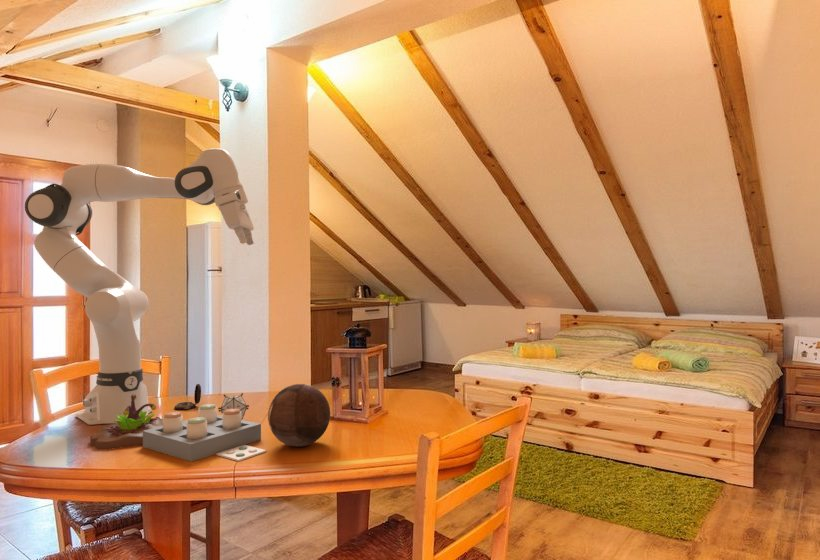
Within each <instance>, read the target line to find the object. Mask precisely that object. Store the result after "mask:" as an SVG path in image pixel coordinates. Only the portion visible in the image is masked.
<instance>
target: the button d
mask: <svg viewBox="0 0 820 560" xmlns="http://www.w3.org/2000/svg"><path fill="white" fill-rule="evenodd" d="M223 412H224V413H221V415H222V426H223V429H227V430H232V429H236V428H239V427H242V422H241V411H240V409H227V410H224V411H223Z"/></svg>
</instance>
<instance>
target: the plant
mask: <svg viewBox="0 0 820 560" xmlns="http://www.w3.org/2000/svg"><path fill="white" fill-rule="evenodd" d="M136 398H137V396H136V395H135V394H132V395H131V400H132V401H131V406H128V407H127V408H126V409H125V410H124V412H123V414H124V415H125V416H123V415H118V414H117V418H118V419H119V420H120V421H117V420H114V421H116V422H117V423H108V424H106V425H103V426H101V427H100V428H99V427H98V429H97V431H96V432H95V433H94V434H91V435H89V437H90V438H89V439H90V441H89V442H90V443H89V444H90V447H95V449H96V450H113V449H112V448H115V449H120V447H122V448H128V447H127V446H129V447H136V446H135V445H138V446H143V431H144V430H148V429H152V428H156V427H160V426H163V418H160V417H159V416H156V417H154V415H156V413H151V414H148V415H146V414H147V412H143V411H141V410H142V409H143V408H144V407H146V406H149V407H150V408H151V409H152V411H155V410H156V409H157V405H156V404H154V403H149V402H148V404H145V405H143V406H142V407H140V408H139V409H138V410H137V411H136V408H135V402H134V401H135V399H136ZM126 415H127V416H126Z"/></svg>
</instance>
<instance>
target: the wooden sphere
mask: <svg viewBox="0 0 820 560" xmlns="http://www.w3.org/2000/svg"><path fill="white" fill-rule="evenodd" d="M267 420H268V426H269V428H270V430H271V432H272V435H274V437H275V438H276V439H277V440H278V441H280V442H281V443H282V444H284V445H287V446H290V447H294V448H295V447H296V448H298V447H299V448H300V447H306V446H309V445H312V444H313V443H315V442H317V441H318V440H320V439H321V437H322V436H323V435H324V434H325V433H326V431H327V429H328V427H329V424H330V420H331V407H330V405H329V401H328V400H327V397H326V396H325V395H324V393H323V392H322V391H320V389H318V388H316V387H315V386H312V385H309V384H305V383H296V384H292V385H291V384H290V385H289V386H286V387H283V389H281V390H280V391H279V392H278V393H277V394H276V395H275V396H274V397H273V399H272V400H271V402H270V405H269V408H268V413H267Z"/></svg>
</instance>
